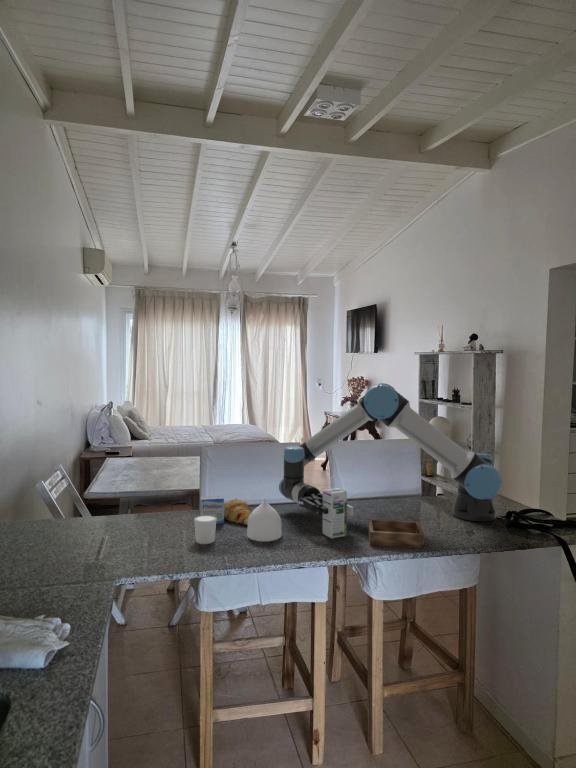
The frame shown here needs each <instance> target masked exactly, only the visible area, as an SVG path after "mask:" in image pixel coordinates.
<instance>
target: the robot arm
mask: <svg viewBox="0 0 576 768" xmlns="http://www.w3.org/2000/svg"><path fill="white" fill-rule="evenodd" d="M410 403H411V402H410V400H408V399H407V398H406V397H404V396H403V395H402V394H400V393H399V392H398V391H397V390H396V388H394V387H393V386H391V385H390V384H388V383H382V382H381V383H377V384H374V385H372V386H370V387H369V388H368V389H367V391H366V393H365V394H364V395H363V396H362V397H361V398H359V399H358V400H357V404H355V405H354V406H352V407H351V408H350V409H348V410H347V411H345V412H344V413H343V414H342V415H340V416H339V417H337V418H336V419H334V421H332V422H331V423H329V424H328V425H326V426H325V427H324V428H322V429H321V430H319V431H318V432H317V433H315V434H314V435H312V436H311V437H310V438H309V439H307V440H305V441H304V442H303V443H301V444H300V445H299V446H297V445H295V446H294V445H290V446H286V447H285V448H284V451H283V478H282V479H281V480H280V482H279V484H278V490H279V493H280V495H282V496H284V498H286V499H288V500H290V501H293V502H295V503H297V504H298V506H299V507H301V508H303V509H306V510H308V511H310V512H311V513H314V514H316V513H317V512H318V515H319V516H323V513H324V514H326V515H328V516H330V517H332V518H334V519H335V518H336V509H334V508H332V507H330V506H327V505H325V504H324V505H323V493H321V491H320V490H319V488H317V487H315V486H312V485H310V484H308V483H305V479H304V478H305V467H306V466H307V465H308V464H309V463H311V462H312V461H314V460H315V459H316V458H317V457H319V456H321V455H323V453H325V452H327V451H328V450H329V449H331V448H333V446H335V445H336V444H337V443H339V442H341V441H342V440H343V439H345V438H347V437H348V436H349V435H351V434H352V433H354V432H355V431H356V430H357V429H359V428H360V427H362V426H363V425H365V424H366V423H368V422H369V421H372V422H374V421H375V420H376V419H377V420H379V422H381V423H383V425H385V426H386V427H387V428H393V427H394V428H396V429H397V430H398V431H400V433H402V434H403V435H404V436H406V437H407V438H408V439H409V440H411V441H412V442H413V443H414V444H416V445H417V446H418V447H420V448H421V450H423V451H424V452H426V453H427V454H428V455H429V456H430V457H432V458H434V459H435V460H436V461H437V462H438V463H440V464H441V465H442V466H444V468H445V469H446V470H448V471H449V472H450V476H451V479H452V480H454V481H455V482H456V483H457V493H456V497H455V499H454V502H453V505H452V507H451V508H452V509H451V511H452V512H451V514H452V515H453V516H454V517H456V518H459V519H461V520H466V521H469V522H470V521H472V522H492V521H495V520H496V519H497V511H496V507H495V504H494V501H493V497H495V496H496V495H497V494H498V493H499V492H500V490H501V489H502V477H501V474H500V472H499V471H498V469H497V468H496V467H494V466H493V463H494V461H493V456H492V455H491V454H489V453H476V452H474V451H466V450H465V449H463V448H462V447H461V446H460V445H458V443H456V442H455V441H453V440H452V439H451V438H450V437H448V436H447V435H446V434H444V433H443V432H442V431H441V430H440V429H438V428H437V427H435V426H434V425H433V424H432V423H430V422H429V421H428V420H427V419H425V418H424V417H423V416H421V415H420V414H419V413H418V412H417V411H415V410H413V409H412V408H411V405H410ZM347 516H352V517H354V507H353V506H351V505H349V504H347Z"/></svg>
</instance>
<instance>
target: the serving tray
mask: <svg viewBox="0 0 576 768" xmlns="http://www.w3.org/2000/svg"><path fill="white" fill-rule="evenodd" d="M367 531H368V539H369V546H377V545H381V547H395V546H401V547H400V548H412V547H415V549H417V548H418V549H424V547H425V534H424V531H423V529H422V526H421V524H420V522H419V521H410V520H409V521H407V520H393V519H392V520H388V519H374V518H373V519H368V530H367Z"/></svg>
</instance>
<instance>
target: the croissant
mask: <svg viewBox="0 0 576 768" xmlns="http://www.w3.org/2000/svg"><path fill="white" fill-rule="evenodd" d="M252 512H253V510H252V509H251V508H250V506H249V505H248V503H247V502H245V501H243V500H242V499H238V498H234V499H231V500H229V501H228V502H224V520H227V521H228V522H231V523H236V524H243V525H247V526H248V519H249V516H250V514H251V513H252Z"/></svg>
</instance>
